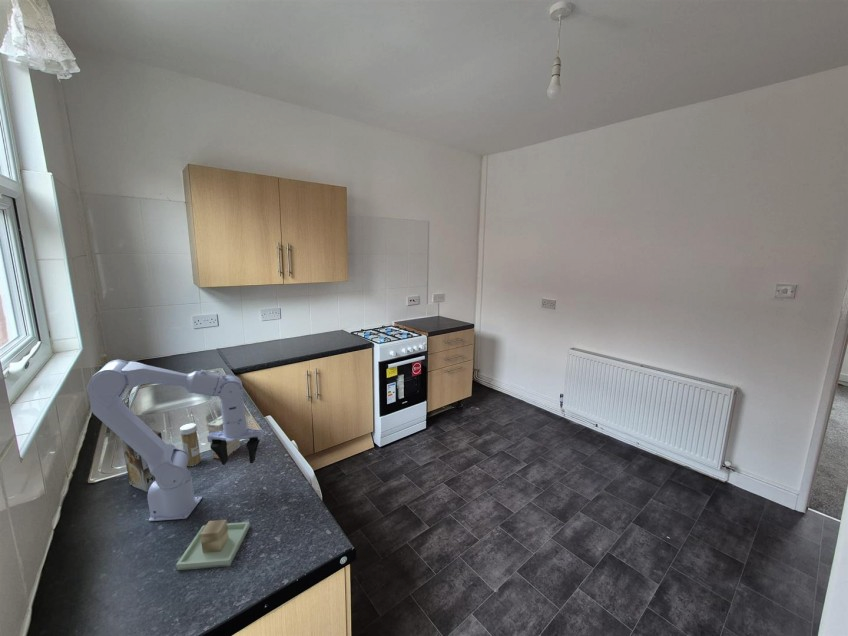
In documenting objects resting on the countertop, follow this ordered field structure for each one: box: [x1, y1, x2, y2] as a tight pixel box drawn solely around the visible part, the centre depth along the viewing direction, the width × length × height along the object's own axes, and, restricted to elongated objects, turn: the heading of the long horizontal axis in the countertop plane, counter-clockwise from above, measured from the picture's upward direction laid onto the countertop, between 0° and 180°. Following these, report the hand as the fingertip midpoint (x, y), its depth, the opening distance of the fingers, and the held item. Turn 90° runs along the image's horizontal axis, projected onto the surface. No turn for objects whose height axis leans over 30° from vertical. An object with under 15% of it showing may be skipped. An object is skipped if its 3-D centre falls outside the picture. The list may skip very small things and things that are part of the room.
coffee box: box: [120, 429, 163, 493], centre depth 104 cm, size 9×6×16 cm
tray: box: [175, 521, 251, 571], centre depth 82 cm, size 11×11×2 cm
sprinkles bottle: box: [179, 422, 202, 467], centre depth 114 cm, size 5×5×14 cm
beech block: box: [200, 519, 229, 553], centre depth 82 cm, size 4×4×5 cm
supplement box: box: [207, 415, 241, 458], centre depth 120 cm, size 8×5×13 cm, turn 169°
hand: (239, 462), depth 100 cm, fingers open, 7 cm apart
